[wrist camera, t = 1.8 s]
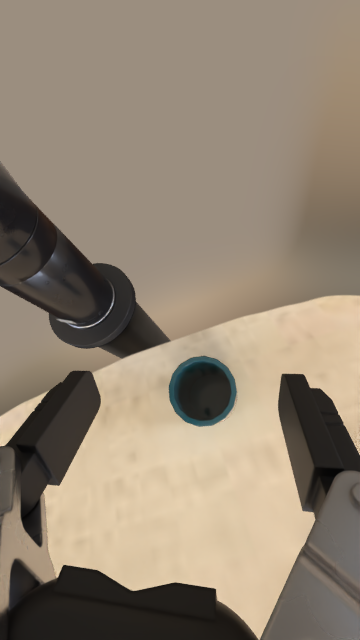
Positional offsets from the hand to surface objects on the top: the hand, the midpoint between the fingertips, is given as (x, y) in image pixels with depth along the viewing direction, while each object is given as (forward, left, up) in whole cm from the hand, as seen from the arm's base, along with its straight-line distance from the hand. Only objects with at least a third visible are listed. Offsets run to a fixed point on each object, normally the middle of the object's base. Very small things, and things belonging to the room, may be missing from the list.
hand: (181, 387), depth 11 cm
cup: (-2, 0, -24) cm, 25 cm away
